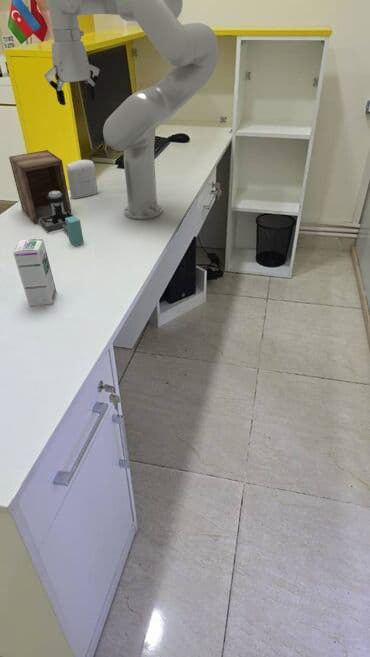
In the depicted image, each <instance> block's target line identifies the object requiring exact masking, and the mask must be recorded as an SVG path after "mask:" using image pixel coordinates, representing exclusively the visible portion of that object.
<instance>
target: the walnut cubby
mask: <svg viewBox="0 0 370 657" xmlns="http://www.w3.org/2000/svg"><path fill="white" fill-rule="evenodd" d="M8 158H9V159H8V160H9V164H10V166H11V171H12V174H13V178H14V183H15V186H16V191H17V195H18V199H19V201H20V207H21V209H22V212H23V214H24V215H26V217H27V218H28V219H29V220H30V221H31V223H33V224H34V225H35V226H36V225H38V224H39V223H38V219H37V214H36V211H35V210H38V209H41V208H46V207H50V206H51V203H49V202H48V199H47V195H49V192H51V191H60V192H61V193H63V194H64V201H63V207H64V212H66V211H69V212H70V213H71V214H72V215H73V213H72V208H71V207H72V206H71V203H70V196H69V192H68V191H69V190H68V186H67V181H66V174H65V170H64V165H63V160H62V159H61V158H60V157H58V156H57V155H55V154H54V153H52V152H51V151H50V150H48V149H46V150H45V149H44V150H39V151H33V152H29V153H23V154H17V155H10V156H8ZM53 205H54V204H53ZM60 205H61V203H60ZM51 207H52V206H51ZM61 209H62V208H61Z"/></svg>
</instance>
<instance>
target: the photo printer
mask: <svg viewBox="0 0 370 657" xmlns="http://www.w3.org/2000/svg"><path fill="white" fill-rule="evenodd" d="M65 169H66V175H67V181H68V186H69V187H68V188H69V192H70V197H71V198H72V199H74V200H75V199H79V198H85V197H88V196H93V195H97V194H98V193H99V190H98V183H97V175H96V168H95V163H94V161H92V160H90V159H79V160H74V161H72V162H70V163H69V164H67V165H66V167H65Z"/></svg>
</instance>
